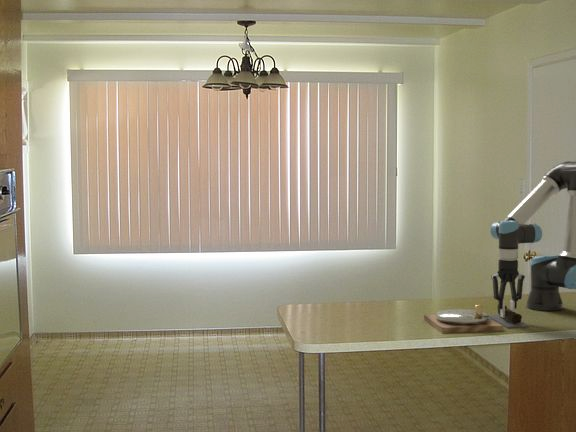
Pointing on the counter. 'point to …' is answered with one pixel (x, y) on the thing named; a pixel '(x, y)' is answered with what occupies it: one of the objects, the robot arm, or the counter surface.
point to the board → (453, 328)
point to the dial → (463, 316)
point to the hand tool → (511, 315)
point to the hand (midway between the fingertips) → (507, 316)
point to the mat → (507, 322)
